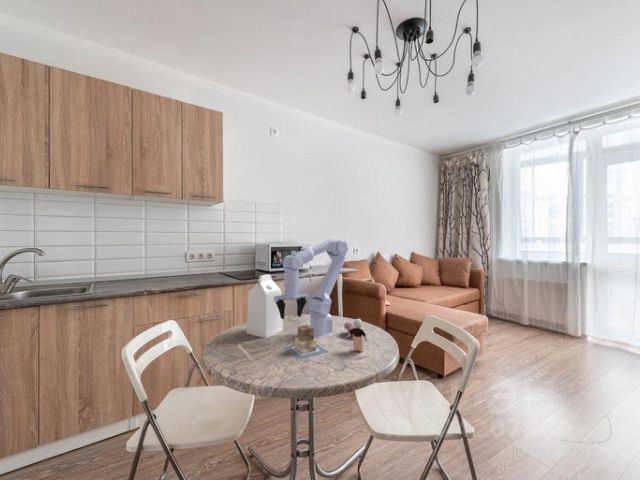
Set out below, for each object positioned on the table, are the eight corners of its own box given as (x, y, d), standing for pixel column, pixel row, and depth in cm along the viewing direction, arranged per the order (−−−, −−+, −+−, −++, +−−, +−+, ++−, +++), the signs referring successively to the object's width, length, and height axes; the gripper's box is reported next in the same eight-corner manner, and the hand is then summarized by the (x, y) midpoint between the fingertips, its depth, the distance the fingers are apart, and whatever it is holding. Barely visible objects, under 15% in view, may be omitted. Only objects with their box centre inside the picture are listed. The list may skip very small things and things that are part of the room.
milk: (264, 326, 141) (264, 272, 140) (283, 330, 135) (283, 274, 134) (246, 333, 130) (246, 275, 130) (266, 337, 125) (265, 277, 124)
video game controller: (348, 335, 132) (341, 321, 132) (356, 330, 133) (350, 317, 132) (352, 343, 123) (345, 329, 122) (361, 338, 123) (354, 324, 122)
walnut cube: (307, 336, 114) (307, 324, 114) (313, 339, 110) (313, 328, 110) (297, 338, 111) (297, 326, 111) (303, 342, 107) (303, 330, 107)
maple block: (308, 345, 115) (308, 335, 115) (316, 350, 110) (316, 340, 110) (295, 348, 112) (295, 338, 112) (302, 353, 107) (302, 343, 106)
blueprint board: (312, 342, 120) (312, 340, 120) (329, 353, 108) (329, 351, 108) (283, 348, 113) (283, 346, 113) (298, 361, 102) (298, 359, 102)
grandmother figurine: (368, 351, 110) (368, 318, 110) (366, 355, 107) (366, 321, 106) (348, 348, 113) (348, 316, 113) (346, 352, 109) (346, 319, 109)
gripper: (279, 287, 112) (278, 322, 112) (311, 284, 120) (310, 317, 120) (272, 284, 118) (271, 317, 118) (303, 282, 126) (303, 313, 126)
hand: (290, 317), depth 119 cm, fingers open, 7 cm apart
